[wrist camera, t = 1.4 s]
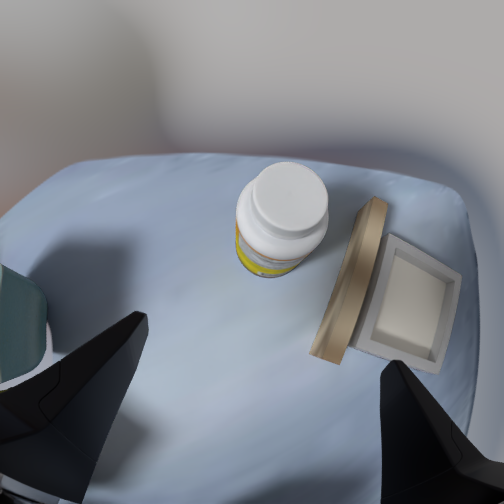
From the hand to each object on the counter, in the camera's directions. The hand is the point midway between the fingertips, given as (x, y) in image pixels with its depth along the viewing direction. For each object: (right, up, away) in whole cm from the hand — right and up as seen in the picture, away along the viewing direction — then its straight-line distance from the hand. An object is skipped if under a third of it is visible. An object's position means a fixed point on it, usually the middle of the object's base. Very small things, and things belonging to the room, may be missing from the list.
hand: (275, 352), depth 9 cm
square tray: (+14, -2, +14) cm, 20 cm away
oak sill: (+7, +1, +14) cm, 16 cm away
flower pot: (-23, -4, +11) cm, 26 cm away
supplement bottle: (+1, +4, +15) cm, 15 cm away
